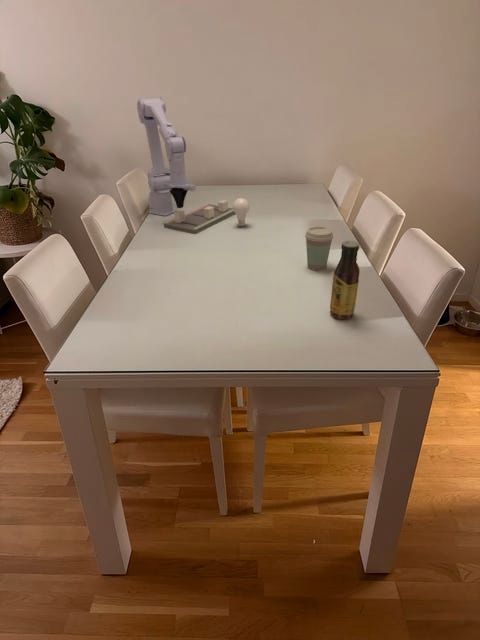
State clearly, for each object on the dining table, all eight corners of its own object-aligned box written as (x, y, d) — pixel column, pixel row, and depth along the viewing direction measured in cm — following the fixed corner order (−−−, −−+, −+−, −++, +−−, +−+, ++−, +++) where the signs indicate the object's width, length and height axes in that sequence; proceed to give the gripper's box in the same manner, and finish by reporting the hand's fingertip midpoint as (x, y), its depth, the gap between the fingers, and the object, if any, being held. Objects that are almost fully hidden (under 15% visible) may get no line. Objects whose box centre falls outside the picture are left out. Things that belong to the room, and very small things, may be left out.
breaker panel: (164, 227, 181) (164, 223, 180) (208, 207, 203) (208, 203, 202) (195, 234, 174) (195, 230, 174) (237, 212, 196) (237, 208, 195)
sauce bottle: (326, 309, 123) (333, 238, 113) (349, 308, 123) (358, 237, 113) (333, 322, 117) (340, 248, 107) (357, 320, 118) (367, 247, 108)
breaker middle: (204, 217, 185) (203, 208, 184) (209, 215, 188) (209, 206, 186) (209, 218, 184) (208, 209, 182) (214, 216, 187) (213, 207, 185)
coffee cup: (332, 263, 149) (335, 227, 143) (327, 274, 142) (331, 236, 136) (306, 260, 152) (308, 224, 146) (300, 270, 145) (302, 233, 139)
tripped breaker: (174, 222, 181) (173, 212, 180) (180, 219, 184) (179, 210, 182) (179, 223, 180) (178, 213, 178) (185, 220, 183) (184, 211, 181)
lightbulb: (250, 223, 184) (250, 196, 178) (248, 229, 178) (248, 200, 173) (234, 223, 184) (233, 195, 179) (232, 229, 179) (231, 200, 173)
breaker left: (218, 211, 193) (218, 202, 191) (223, 208, 195) (222, 200, 193) (223, 212, 192) (222, 202, 190) (227, 209, 194) (227, 200, 192)
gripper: (155, 171, 173) (159, 207, 179) (186, 175, 166) (189, 213, 173) (167, 167, 178) (170, 202, 185) (198, 171, 171) (200, 208, 178)
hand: (180, 207), depth 179 cm, fingers closed
